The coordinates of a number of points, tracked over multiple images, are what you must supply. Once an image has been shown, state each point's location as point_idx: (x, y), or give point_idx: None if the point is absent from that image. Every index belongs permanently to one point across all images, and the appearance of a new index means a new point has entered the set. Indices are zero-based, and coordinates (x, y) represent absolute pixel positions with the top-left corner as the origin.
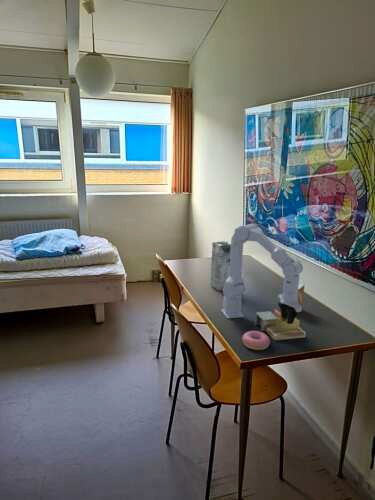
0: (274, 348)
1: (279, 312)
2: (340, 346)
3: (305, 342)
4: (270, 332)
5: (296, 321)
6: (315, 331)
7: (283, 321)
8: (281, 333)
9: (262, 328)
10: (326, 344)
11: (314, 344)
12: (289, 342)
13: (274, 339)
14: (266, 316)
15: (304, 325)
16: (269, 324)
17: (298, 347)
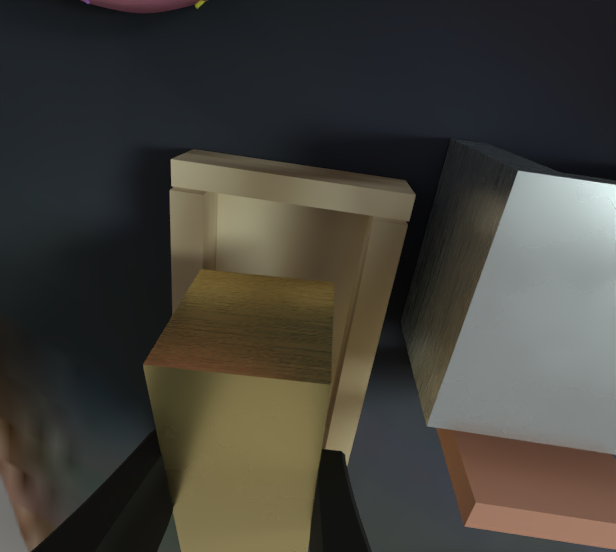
0: (6, 17)
1: (527, 534)
2: (33, 533)
3: (108, 393)
4: (307, 175)
5: (179, 540)
6: None
7: (150, 400)
8: (190, 267)
9: (464, 144)
10: (64, 489)
11: (70, 428)
12: (126, 274)
13: (197, 151)
14: (597, 314)
15: (368, 541)
16: (446, 262)
17: (25, 291)
